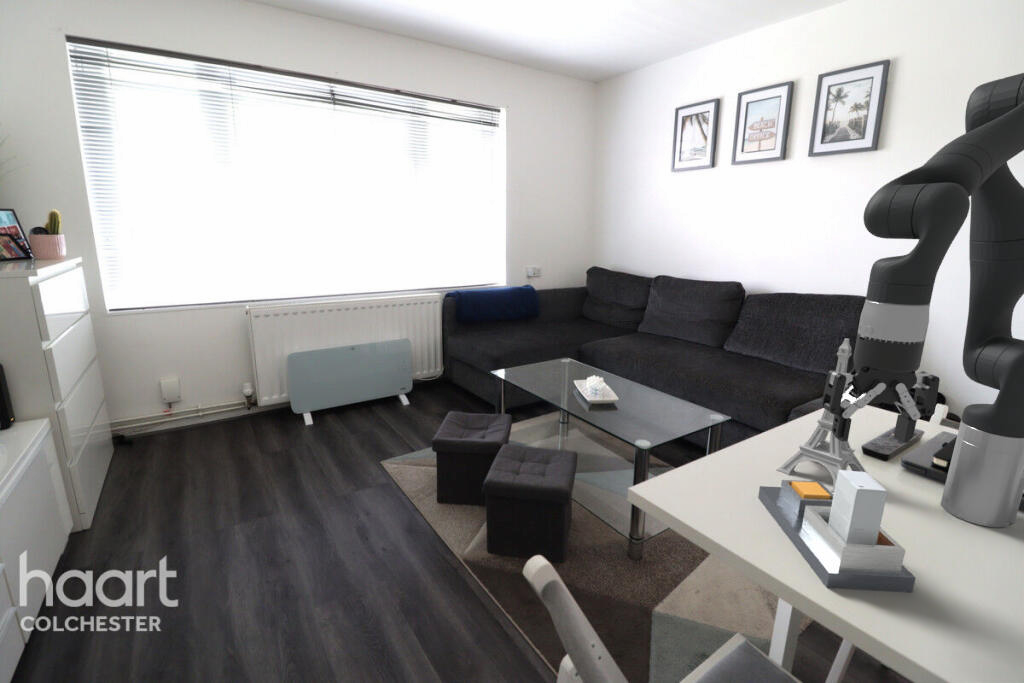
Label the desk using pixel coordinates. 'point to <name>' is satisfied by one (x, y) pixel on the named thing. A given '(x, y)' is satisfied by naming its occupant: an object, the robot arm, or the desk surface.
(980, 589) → the desk surface
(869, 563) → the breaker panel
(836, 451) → the eiffel tower
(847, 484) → the skincare box
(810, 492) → the button
